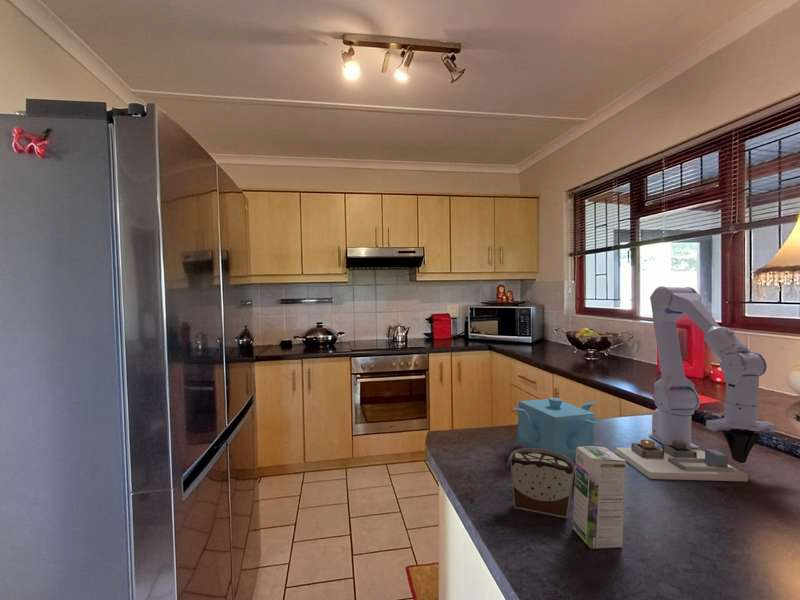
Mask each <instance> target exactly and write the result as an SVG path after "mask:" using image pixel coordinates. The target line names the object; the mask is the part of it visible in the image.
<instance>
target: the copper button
mask: <svg viewBox="0 0 800 600" xmlns="http://www.w3.org/2000/svg"><path fill="white" fill-rule="evenodd" d="M640 443H641V444H640V447H641V448H643V449H645V450H655V446H656V444H655V443H656V442H655V441H652V440H649V439H640Z"/></svg>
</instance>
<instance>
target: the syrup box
mask: <svg viewBox="0 0 800 600" xmlns="http://www.w3.org/2000/svg"><path fill="white" fill-rule="evenodd" d="M626 471H627V461H626V460H624V459H623V458H621V457H620V456H619V455H617V454H616V453H614V452H613V451H611V450H609V448H607V447H603V446H596V445H594V446H584V447H577V448H576V463H575V473H574V488H573V490H574V491H573V512H572V513H573V514H572V529H573V531H575V533H576V534H577V535H578V536H579V537H580V539H582V541H583V542H584V544H586V545H587V547H589V549H595V550H596V549H614V548H615V549H616V548H623V542H624V541H623V540H624V539H623V538H624V537H623V536H624V535H623V534H624V519H625V516H624V515H625V497H626V495H625V494H626V493H625V492H626V475H627V474H626V473H627V472H626Z"/></svg>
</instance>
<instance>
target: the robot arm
mask: <svg viewBox="0 0 800 600" xmlns="http://www.w3.org/2000/svg"><path fill="white" fill-rule="evenodd" d="M649 300H650V306H651V311H652V323H653V329H654V335H655V342H656V347H657V353H658V359H659V360H658V361H659V368H660V373H661V377H660V378H659V379H658V380H657V381H656V382H654V384H653V387H654V388H653V389H654V392H653V401H654V402H653V403H654V404H655V407H657V408H655V409H654V410H653V413H652V417H651V420H652V421H651V433H649V434H648V436H649V438H650V437H651V438H652V439H654V440H656V441H657V442H660V443H661V444H662V445H663V444H672V441H673V440H677V441H682V442H685V443H687V447H688V448H689V449H694V450H699V449H700V448H699V447H700V446H697V445H696V444H694V443H692V442H691V441H692V439H691V438H692V415H694V414H695V411H696V410H697V409H699V407H700V405H701V400H700V396H699V394H698V392H697V390H696V387H695V383H694V382H692V381H691V380H690V379H688V377H686V374H685V369H684V368H685V367H684V363H683V357H682V350H681V346H680V345H681V344H680V340H679V333H678V327H677V323H676V322H677V321H678V319H679V318H681V317H683V316H684V315H686V316H687V317H688V318H690V320H691V321H693V323H694V324H695V325H696V326H697V327H698V328H699V329H701V331H703V333H704V337H703V340H704V342H705V343H706V344H707V345H708V346H709V348H710V349H711V350H712V351H713V352H714V354H715V355H716V356H717V357H718V359H719V360H721V361H720V362H719V367H720V370H721V371H722V373H723V380H724V381H725V398H724V399H725V402H724V418H717V419H706V421H705V429H708V430H709V431H712V432H716V431H721V433H722V435H723V436H724V438H725V440H726V442H727V444H728V448H729V450H730V455H731V458H732V460H733V461H735V462H736V463H740V464H746V462H747V460H748V457H749V454H750V452H751V450H752V449H753V447H754V446H755V444H756V443H757V442H758V441H759V440H760V439H761V435H760V434H759V433H756V432H768V433H776V424H775V423H773V422H770V421H766V420H765V421H762V420H758V409H759V407H758V406H759V405H758V404H759V388H760V387H759V386H760V385H759V383H760V381H759V380H760V377H761V376H763V375H764V374H765V373H766V371H767V368H768V365H767V362H766V359H765V358H764V357H763V354H761V353H759V352H756V351H752V350H751V349H750V348H748V347H747V345H745V344H743V343H742V342H741V340H740V339H739V338H738V337H737V335H735V331H734V330H733V329H731V328H728V327H726V326H720V325H719V324H718V323H717V321H716V319H714V317H713V316H712V315H711V313H710V312H709V310H708V309H707V308H706V307H705V305H704V304H703V303H702V296H701V294H699V293H698V292H697V290H696V289H695V288H693V287H691V286H686V287H680V286H679V287H675V286H664V285H662V286H661V285H660V286H657V287H656V288H655V289H654V291H653V292H652V293H651V295H650V297H649Z"/></svg>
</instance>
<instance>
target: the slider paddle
mask: <svg viewBox="0 0 800 600" xmlns="http://www.w3.org/2000/svg"><path fill="white" fill-rule="evenodd" d="M704 452H705V462H706V463H708V464H710V465H712V466H714V467H728V465H729V462H728V461H729V456H728V455H727V454H725V453H723V452H721V451H720V450H717V449H715V448H714V449H711V448H710V449H709V448H708V449H704Z"/></svg>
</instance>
